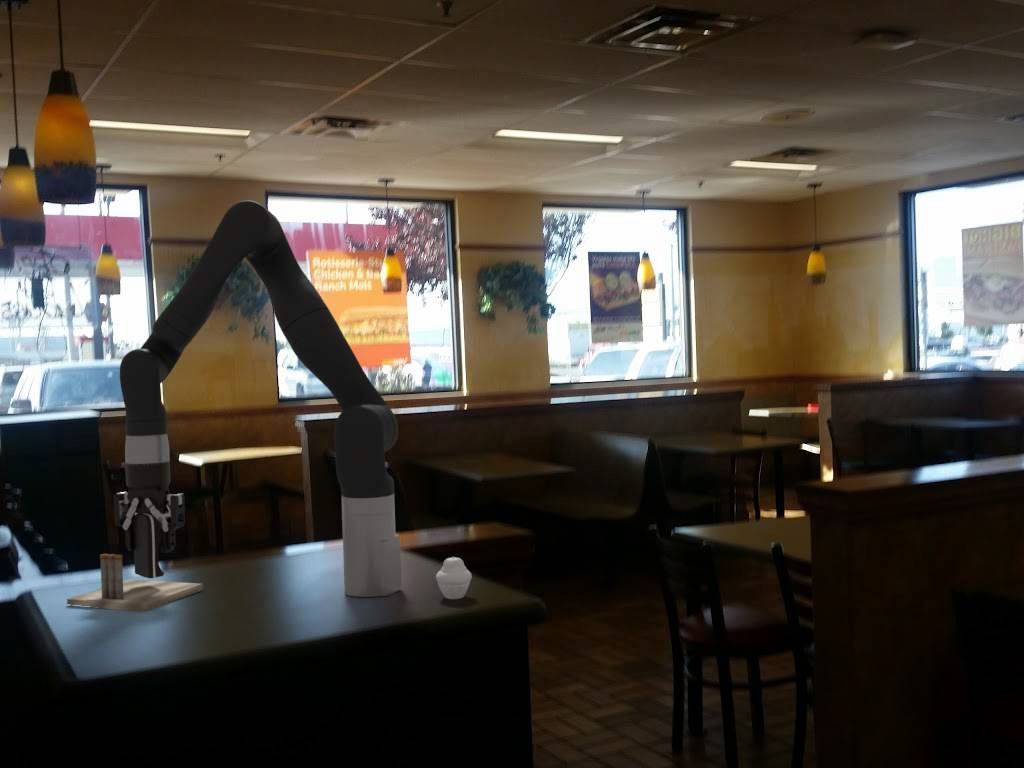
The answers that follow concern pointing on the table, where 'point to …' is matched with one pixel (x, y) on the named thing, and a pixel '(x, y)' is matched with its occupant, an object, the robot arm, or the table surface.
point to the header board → (131, 590)
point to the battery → (147, 545)
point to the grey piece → (453, 578)
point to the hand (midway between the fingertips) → (150, 550)
